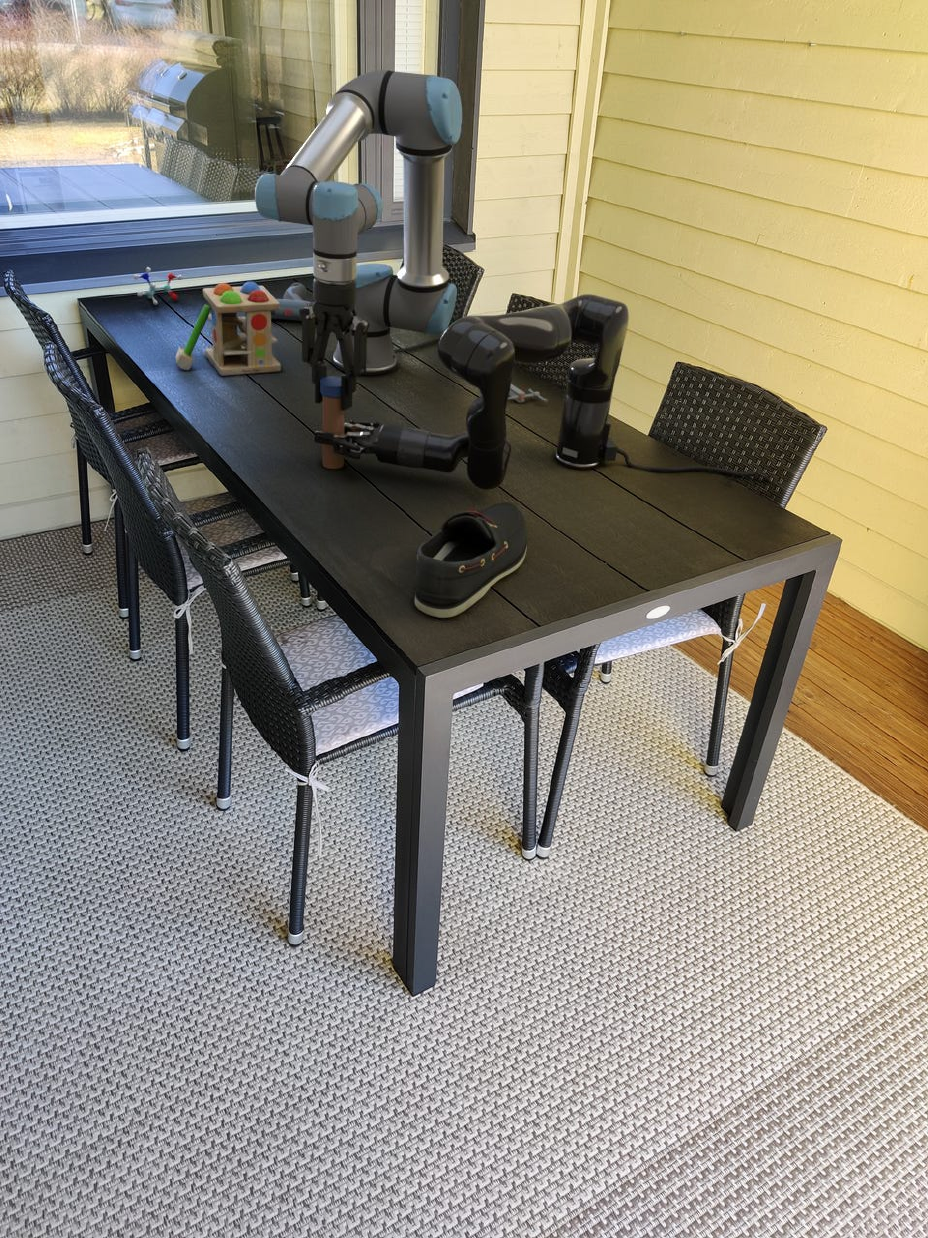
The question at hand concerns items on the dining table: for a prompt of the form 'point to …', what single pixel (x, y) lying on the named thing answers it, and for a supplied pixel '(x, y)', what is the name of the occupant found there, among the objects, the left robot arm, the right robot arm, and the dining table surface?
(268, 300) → the pounding bench toy
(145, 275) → the molecular model
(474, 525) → the boat shoe
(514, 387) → the clamp
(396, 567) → the dining table surface
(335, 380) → the lid
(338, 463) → the jar
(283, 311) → the power drill
